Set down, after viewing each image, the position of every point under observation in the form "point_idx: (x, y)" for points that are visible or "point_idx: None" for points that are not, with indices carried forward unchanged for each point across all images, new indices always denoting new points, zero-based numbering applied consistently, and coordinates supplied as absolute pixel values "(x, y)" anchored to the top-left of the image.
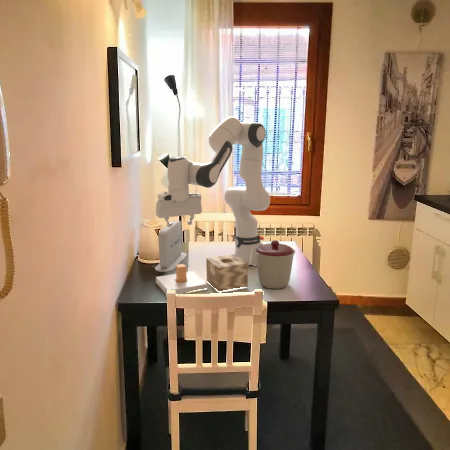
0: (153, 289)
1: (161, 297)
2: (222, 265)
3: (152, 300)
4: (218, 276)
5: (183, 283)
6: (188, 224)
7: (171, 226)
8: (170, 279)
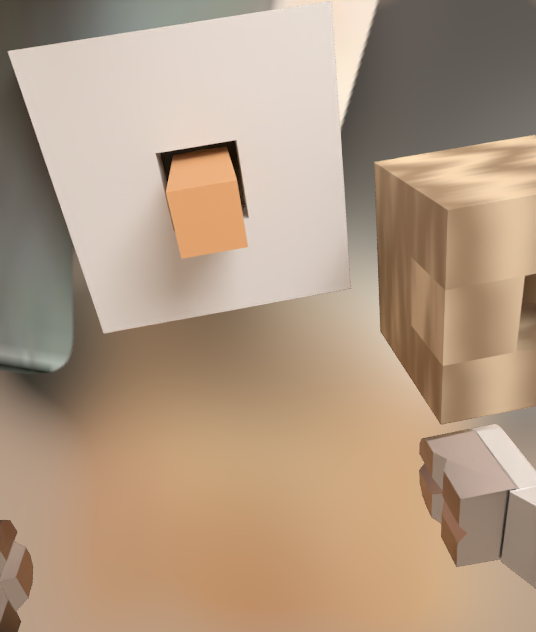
0: (10, 175)
1: (68, 309)
2: (482, 391)
3: (17, 335)
4: (416, 379)
5: None
6: (420, 478)
7: (32, 577)
8: (128, 147)
